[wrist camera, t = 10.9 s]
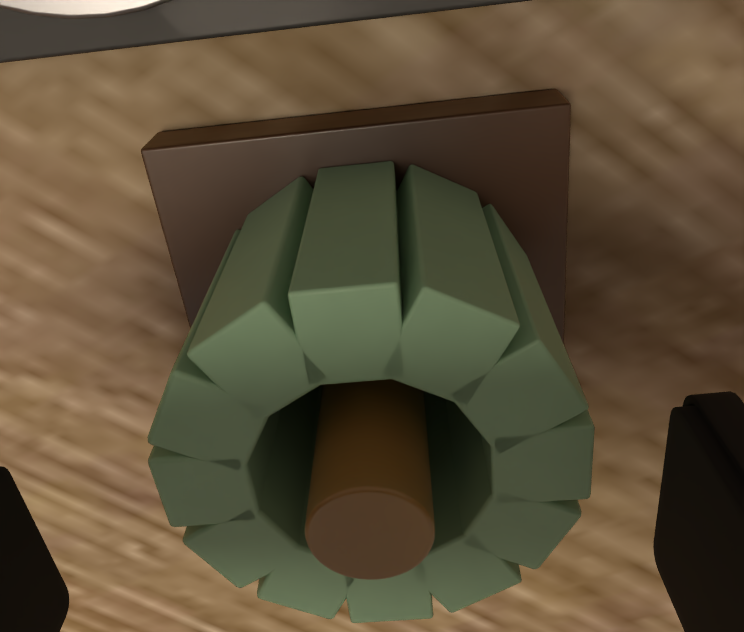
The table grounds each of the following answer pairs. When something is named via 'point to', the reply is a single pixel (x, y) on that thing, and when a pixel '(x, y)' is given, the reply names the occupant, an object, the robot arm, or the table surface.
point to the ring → (369, 363)
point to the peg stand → (404, 148)
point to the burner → (79, 7)
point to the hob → (194, 23)
